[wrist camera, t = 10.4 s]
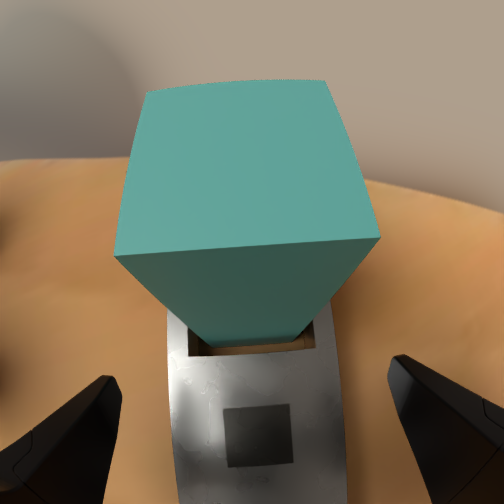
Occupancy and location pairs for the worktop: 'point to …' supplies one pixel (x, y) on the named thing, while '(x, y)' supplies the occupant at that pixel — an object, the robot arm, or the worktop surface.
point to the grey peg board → (258, 421)
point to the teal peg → (244, 207)
